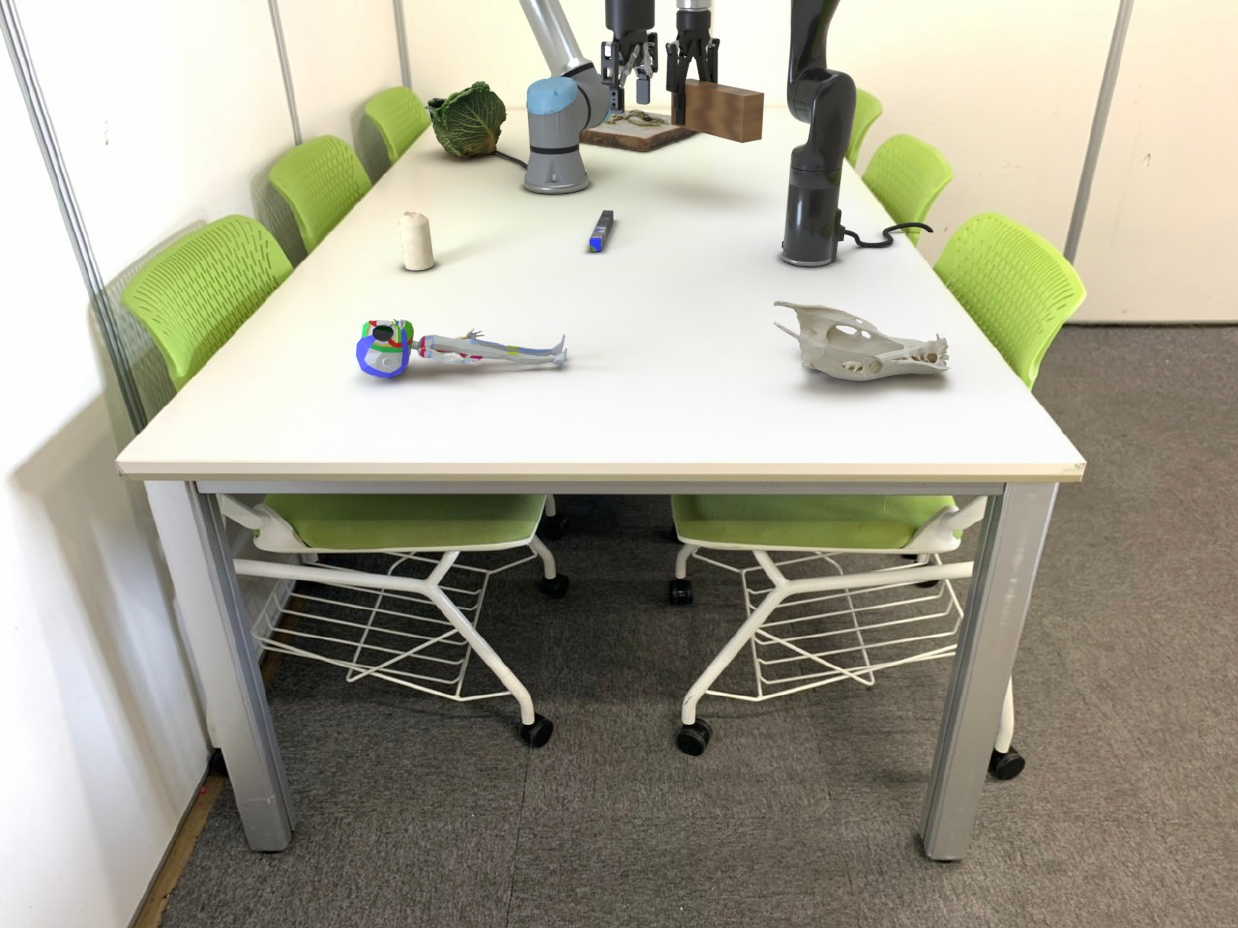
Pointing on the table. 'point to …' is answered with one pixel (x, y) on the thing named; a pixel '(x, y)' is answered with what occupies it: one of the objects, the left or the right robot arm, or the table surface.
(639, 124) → the plaque
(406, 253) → the candle
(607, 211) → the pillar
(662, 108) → the table surface
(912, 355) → the anatomical model
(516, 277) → the table surface
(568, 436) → the table surface
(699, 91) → the bar
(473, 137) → the vegetable
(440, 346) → the toy
